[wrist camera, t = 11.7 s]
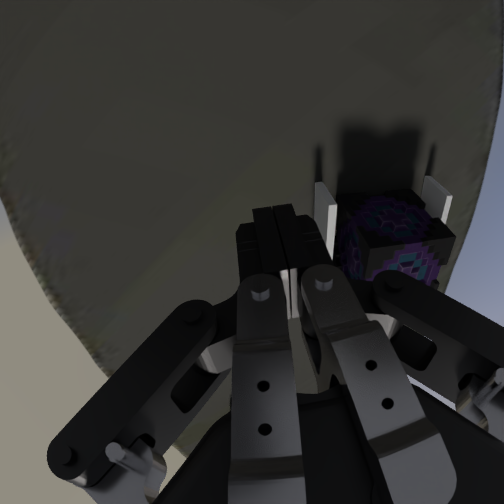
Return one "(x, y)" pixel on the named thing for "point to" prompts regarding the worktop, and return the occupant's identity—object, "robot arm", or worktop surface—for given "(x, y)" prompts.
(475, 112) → the worktop surface
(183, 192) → the worktop surface
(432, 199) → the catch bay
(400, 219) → the energy cube
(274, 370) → the robot arm
